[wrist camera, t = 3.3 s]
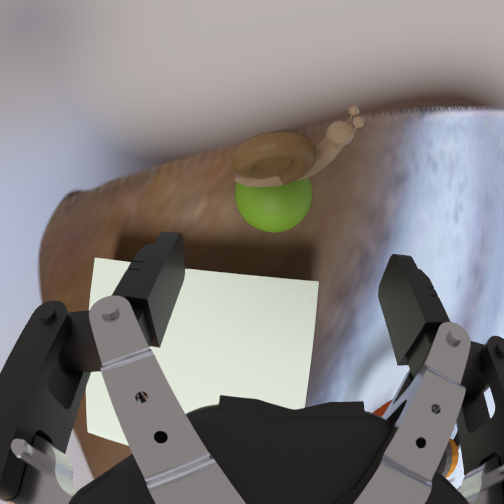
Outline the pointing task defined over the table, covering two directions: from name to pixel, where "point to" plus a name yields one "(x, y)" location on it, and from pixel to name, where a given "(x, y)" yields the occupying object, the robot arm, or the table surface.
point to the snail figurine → (284, 173)
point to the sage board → (221, 342)
